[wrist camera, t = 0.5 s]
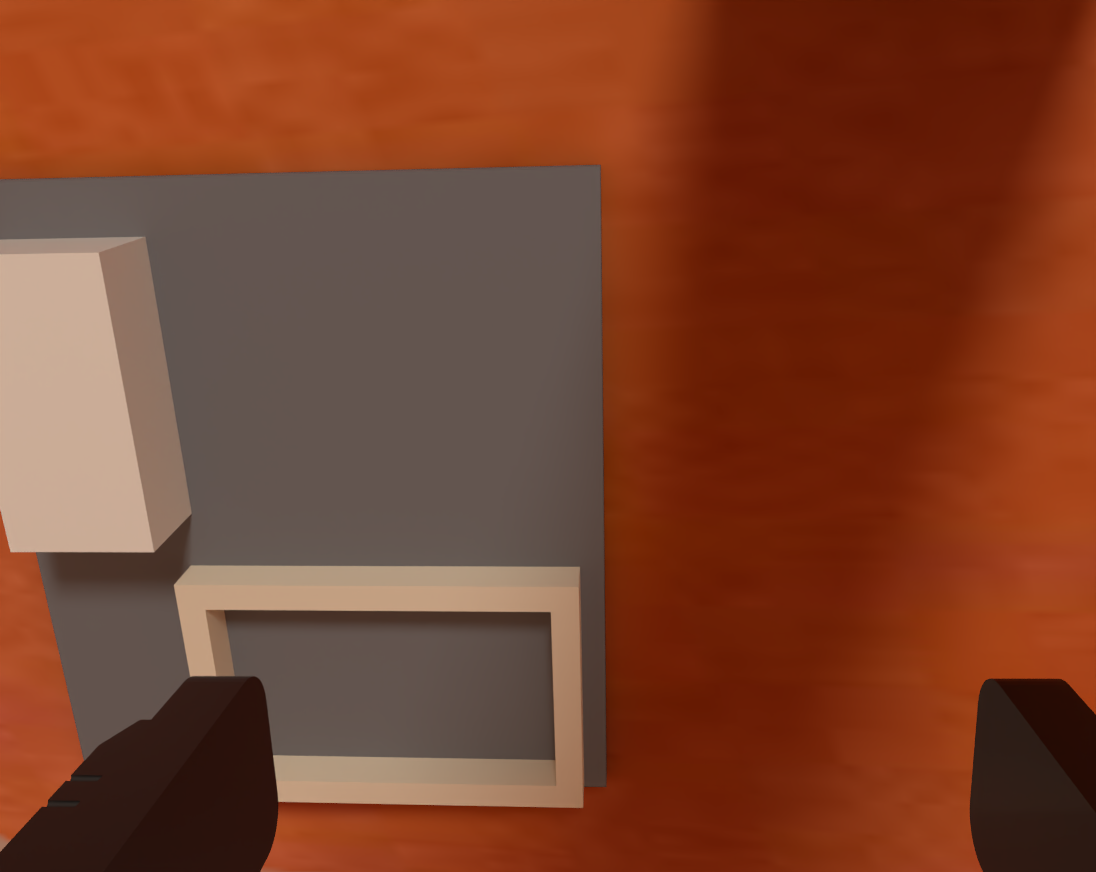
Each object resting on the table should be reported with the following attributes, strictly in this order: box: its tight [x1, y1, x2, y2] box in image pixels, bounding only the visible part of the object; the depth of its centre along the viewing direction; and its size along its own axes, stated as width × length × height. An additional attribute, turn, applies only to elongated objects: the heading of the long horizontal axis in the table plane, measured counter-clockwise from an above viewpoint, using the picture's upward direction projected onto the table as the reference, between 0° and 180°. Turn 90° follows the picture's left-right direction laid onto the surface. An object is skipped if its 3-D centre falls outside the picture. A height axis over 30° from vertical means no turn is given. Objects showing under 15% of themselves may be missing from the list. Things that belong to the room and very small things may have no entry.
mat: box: [0, 165, 607, 808], centre depth 28 cm, size 19×17×2 cm
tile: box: [0, 237, 192, 552], centre depth 26 cm, size 8×4×2 cm, turn 2°
